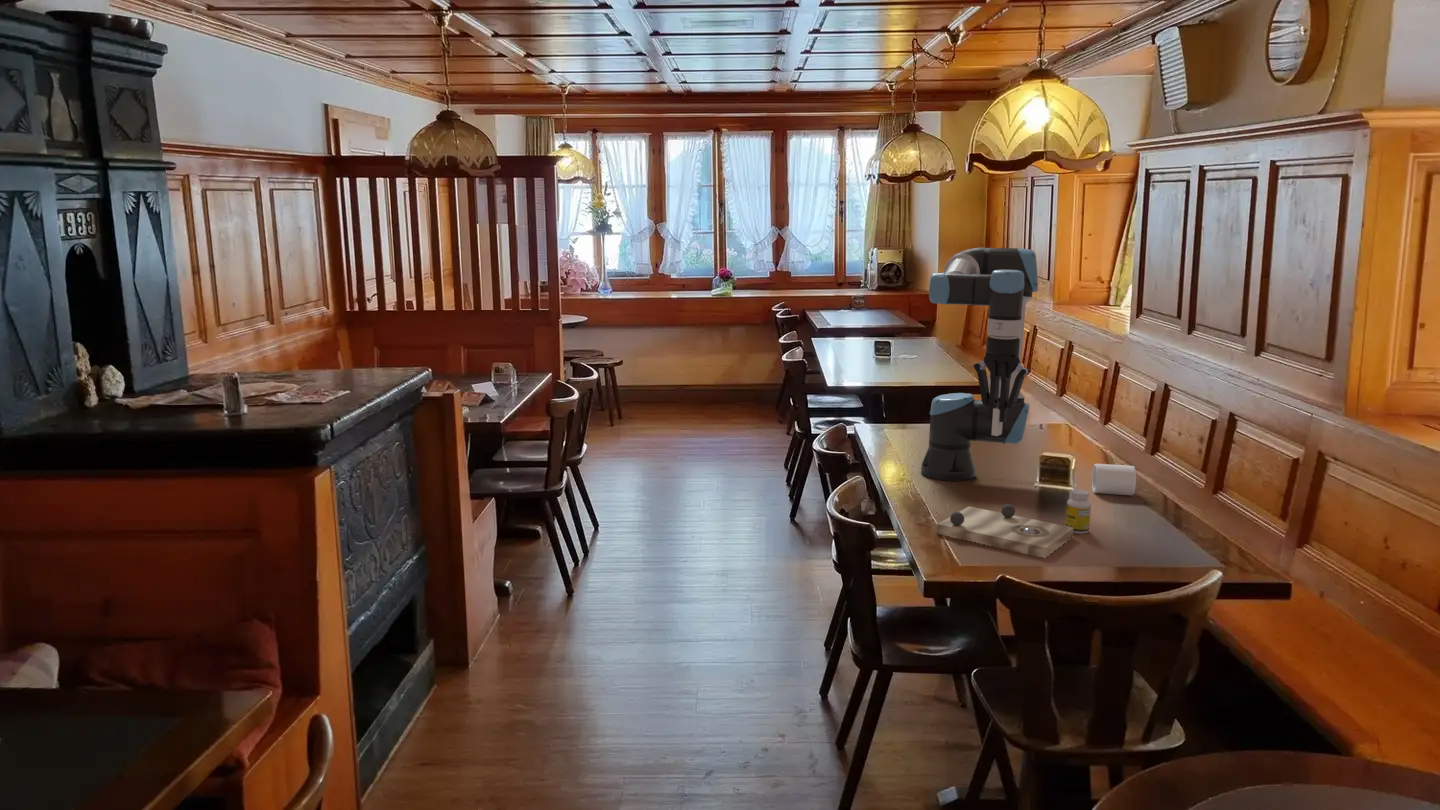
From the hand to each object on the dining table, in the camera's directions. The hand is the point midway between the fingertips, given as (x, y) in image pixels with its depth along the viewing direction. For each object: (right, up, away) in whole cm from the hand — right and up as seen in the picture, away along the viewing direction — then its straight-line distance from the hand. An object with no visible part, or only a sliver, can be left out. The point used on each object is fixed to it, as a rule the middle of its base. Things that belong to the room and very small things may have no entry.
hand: (996, 434), depth 242 cm
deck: (+1, -24, -4) cm, 24 cm away
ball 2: (+3, -19, +2) cm, 19 cm away
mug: (+41, -17, +35) cm, 56 cm away
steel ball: (+5, -23, -7) cm, 25 cm away
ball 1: (-10, -20, -5) cm, 23 cm away
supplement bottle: (+20, -23, +1) cm, 30 cm away
